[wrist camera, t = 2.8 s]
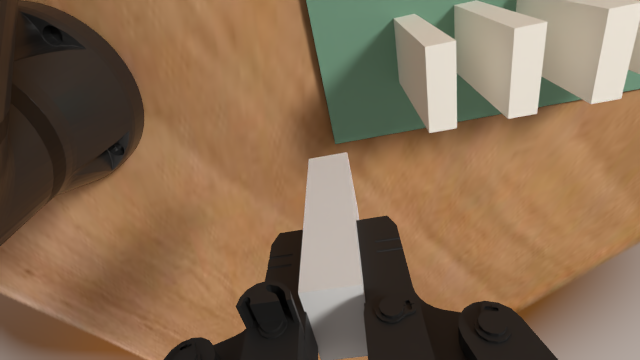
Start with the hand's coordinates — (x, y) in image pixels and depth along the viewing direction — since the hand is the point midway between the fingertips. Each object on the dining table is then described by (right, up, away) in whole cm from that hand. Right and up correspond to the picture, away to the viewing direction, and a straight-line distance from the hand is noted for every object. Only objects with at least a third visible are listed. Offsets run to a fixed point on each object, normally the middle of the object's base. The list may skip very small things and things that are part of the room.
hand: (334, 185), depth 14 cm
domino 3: (+15, +12, +13) cm, 23 cm away
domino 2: (+11, +11, +14) cm, 21 cm away
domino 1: (+6, +10, +14) cm, 19 cm away
